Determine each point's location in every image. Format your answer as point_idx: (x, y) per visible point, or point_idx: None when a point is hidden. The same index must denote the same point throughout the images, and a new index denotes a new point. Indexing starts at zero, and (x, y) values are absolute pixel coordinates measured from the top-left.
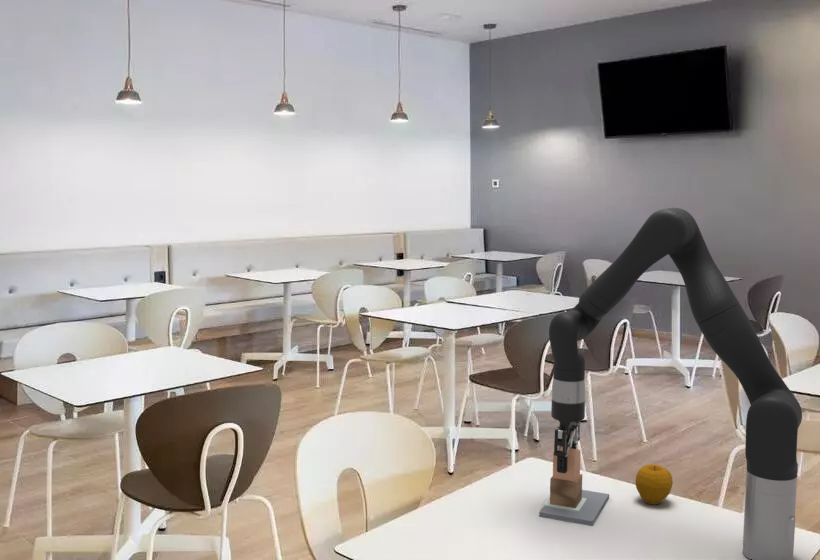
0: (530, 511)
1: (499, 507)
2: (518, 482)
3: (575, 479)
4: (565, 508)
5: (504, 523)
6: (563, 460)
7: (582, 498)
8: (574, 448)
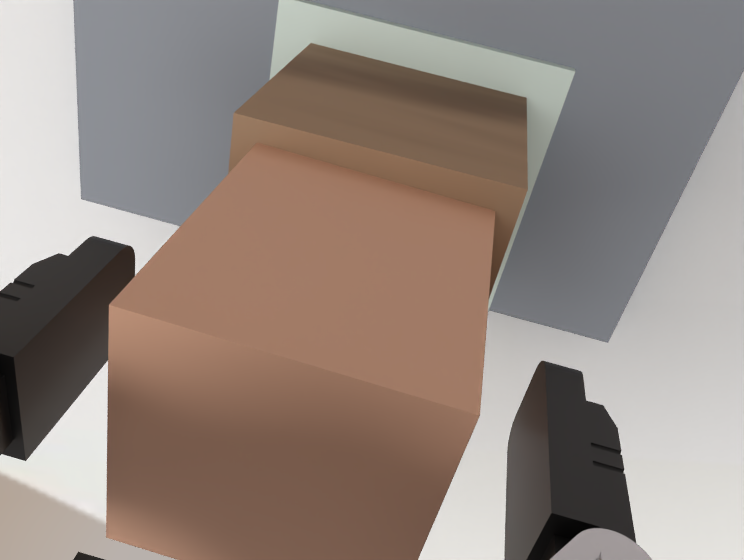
0: (521, 366)
1: (485, 501)
2: (81, 401)
3: (437, 197)
4: (537, 176)
5: (729, 495)
6: (627, 533)
7: (288, 35)
8: (28, 357)
